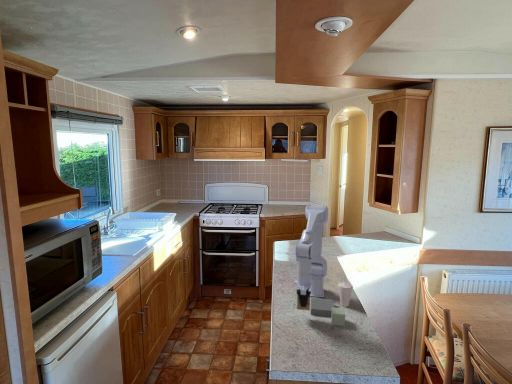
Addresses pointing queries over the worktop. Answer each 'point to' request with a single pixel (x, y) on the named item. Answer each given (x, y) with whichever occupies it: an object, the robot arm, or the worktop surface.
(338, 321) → the sage block
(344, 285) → the smoothie
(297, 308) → the walnut cube
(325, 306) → the charcoal slab
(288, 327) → the worktop surface
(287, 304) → the worktop surface
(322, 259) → the robot arm
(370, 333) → the worktop surface
